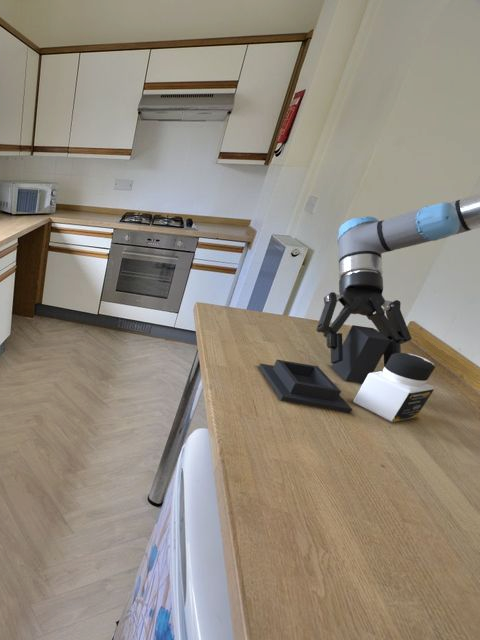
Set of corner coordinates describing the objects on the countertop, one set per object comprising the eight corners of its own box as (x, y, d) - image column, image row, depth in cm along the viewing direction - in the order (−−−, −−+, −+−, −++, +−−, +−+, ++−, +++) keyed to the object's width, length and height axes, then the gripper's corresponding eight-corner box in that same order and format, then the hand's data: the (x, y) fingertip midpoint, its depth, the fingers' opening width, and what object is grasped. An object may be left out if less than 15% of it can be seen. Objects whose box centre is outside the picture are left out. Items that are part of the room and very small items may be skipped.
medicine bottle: (392, 422, 78) (425, 368, 73) (351, 402, 85) (380, 350, 79) (416, 418, 80) (451, 365, 75) (375, 397, 86) (404, 347, 81)
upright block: (350, 369, 98) (373, 327, 93) (366, 384, 92) (391, 340, 87) (331, 366, 99) (352, 325, 94) (345, 380, 93) (368, 337, 88)
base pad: (317, 377, 94) (324, 363, 92) (350, 413, 81) (358, 398, 79) (258, 366, 97) (263, 353, 95) (280, 400, 84) (287, 386, 82)
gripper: (404, 291, 98) (410, 380, 91) (297, 279, 104) (296, 361, 97) (431, 276, 91) (440, 371, 84) (315, 263, 97) (315, 351, 90)
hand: (363, 366), depth 91 cm, fingers open, 9 cm apart
